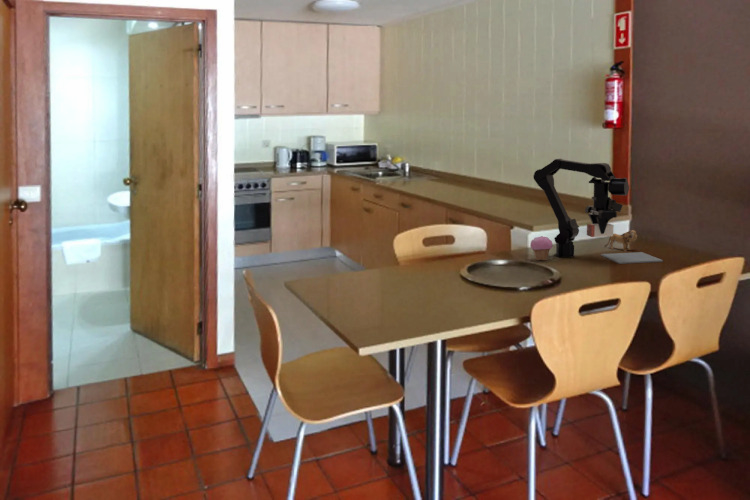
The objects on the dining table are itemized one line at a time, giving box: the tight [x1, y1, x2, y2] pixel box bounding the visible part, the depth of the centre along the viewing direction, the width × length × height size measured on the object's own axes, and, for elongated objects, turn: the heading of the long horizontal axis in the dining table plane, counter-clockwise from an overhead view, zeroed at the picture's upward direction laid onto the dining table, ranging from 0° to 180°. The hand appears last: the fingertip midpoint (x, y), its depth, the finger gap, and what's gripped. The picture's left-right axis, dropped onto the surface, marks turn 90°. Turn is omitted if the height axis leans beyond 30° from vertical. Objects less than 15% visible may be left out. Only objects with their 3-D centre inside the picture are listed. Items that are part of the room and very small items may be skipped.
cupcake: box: [529, 235, 553, 261], centre depth 276 cm, size 9×9×10 cm
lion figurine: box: [604, 229, 638, 252], centre depth 294 cm, size 15×5×9 cm, turn 45°
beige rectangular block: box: [586, 222, 614, 238], centre depth 273 cm, size 5×9×5 cm, turn 94°
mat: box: [600, 251, 664, 265], centre depth 274 cm, size 18×18×1 cm
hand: (599, 232), depth 273 cm, fingers closed on beige rectangular block, 5 cm apart
